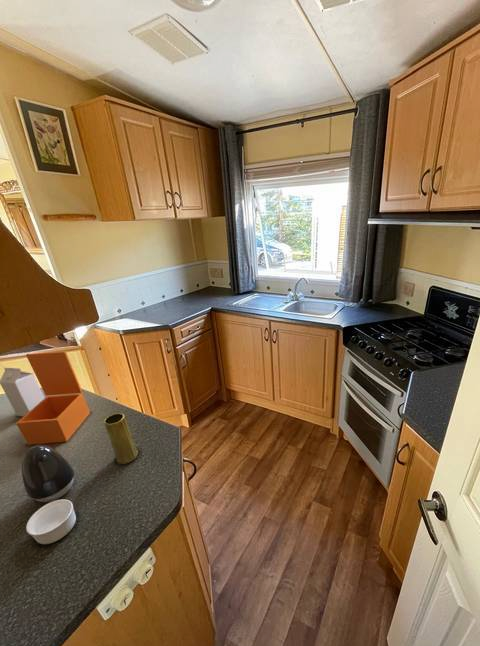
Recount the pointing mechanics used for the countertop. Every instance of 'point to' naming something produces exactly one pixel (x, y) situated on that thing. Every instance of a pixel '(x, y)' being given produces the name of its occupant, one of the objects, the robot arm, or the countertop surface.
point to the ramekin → (52, 521)
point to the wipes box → (54, 419)
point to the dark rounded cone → (46, 473)
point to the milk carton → (21, 390)
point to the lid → (54, 373)
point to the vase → (120, 438)
